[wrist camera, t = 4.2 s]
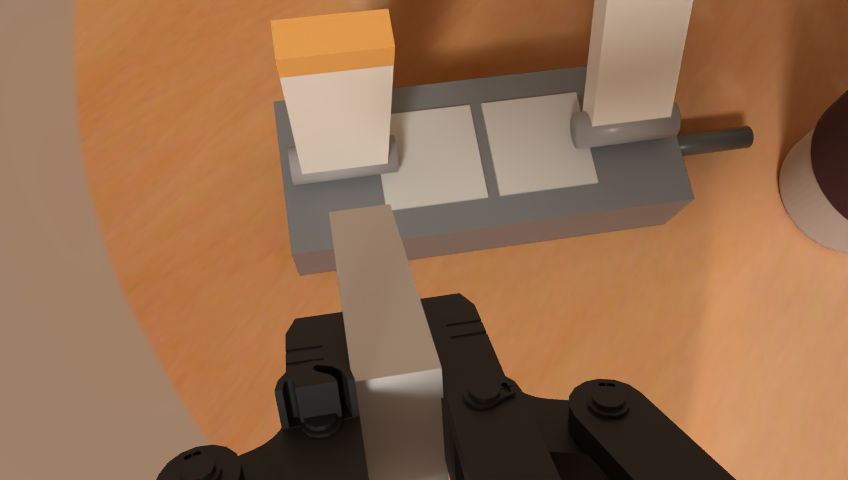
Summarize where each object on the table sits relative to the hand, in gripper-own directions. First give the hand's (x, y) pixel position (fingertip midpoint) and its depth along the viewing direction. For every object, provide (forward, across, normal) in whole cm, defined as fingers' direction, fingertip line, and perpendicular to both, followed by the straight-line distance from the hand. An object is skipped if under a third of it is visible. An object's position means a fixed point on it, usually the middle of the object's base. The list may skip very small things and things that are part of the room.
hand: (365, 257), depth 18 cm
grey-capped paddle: (+17, -14, +4) cm, 22 cm away
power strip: (+20, -10, +7) cm, 24 cm away
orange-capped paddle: (+17, 0, +4) cm, 17 cm away
